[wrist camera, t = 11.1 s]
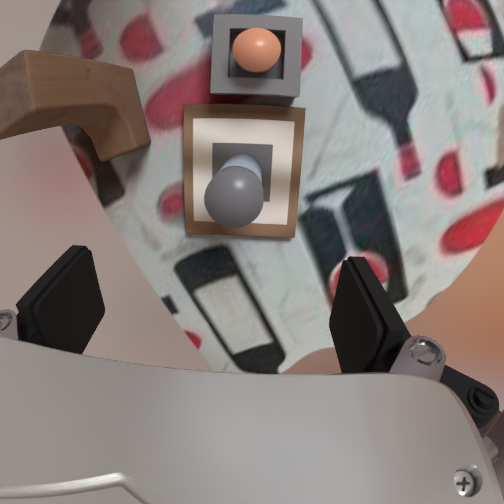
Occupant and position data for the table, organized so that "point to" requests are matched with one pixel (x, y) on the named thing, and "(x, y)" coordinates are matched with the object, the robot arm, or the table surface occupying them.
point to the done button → (256, 50)
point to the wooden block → (72, 100)
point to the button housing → (262, 84)
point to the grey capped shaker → (235, 192)
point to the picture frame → (247, 142)
